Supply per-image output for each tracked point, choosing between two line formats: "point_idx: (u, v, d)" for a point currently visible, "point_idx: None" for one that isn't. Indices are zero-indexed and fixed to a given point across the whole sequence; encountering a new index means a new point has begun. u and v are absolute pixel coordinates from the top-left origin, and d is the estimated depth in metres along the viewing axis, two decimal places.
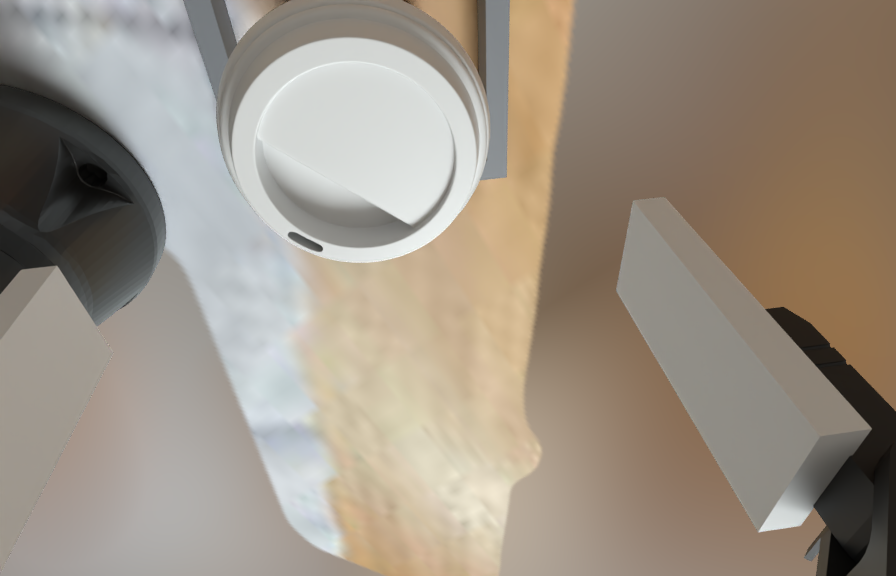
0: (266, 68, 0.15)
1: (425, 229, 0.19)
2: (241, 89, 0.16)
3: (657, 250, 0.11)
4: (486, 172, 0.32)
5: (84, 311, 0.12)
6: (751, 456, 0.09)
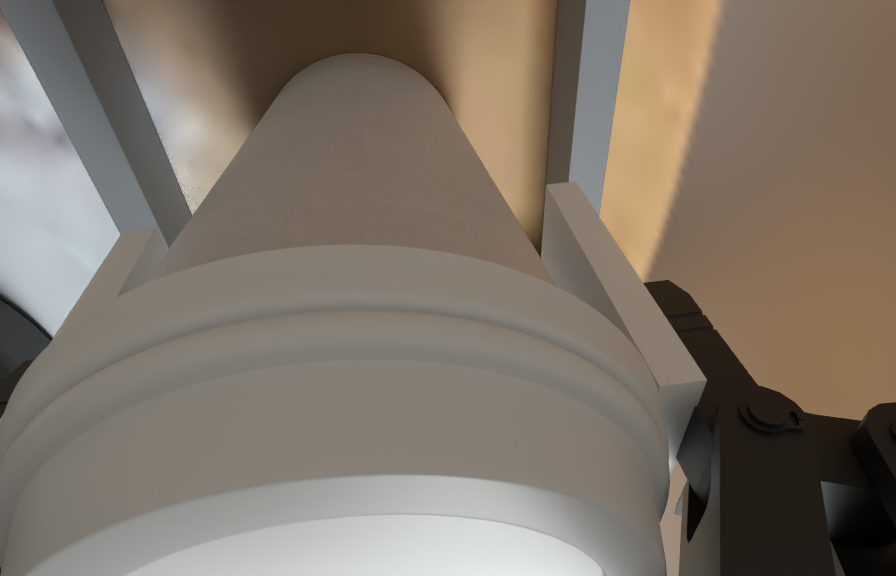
0: (53, 557, 0.05)
1: None
2: (8, 551, 0.05)
3: (562, 229, 0.12)
4: None
5: None
6: None
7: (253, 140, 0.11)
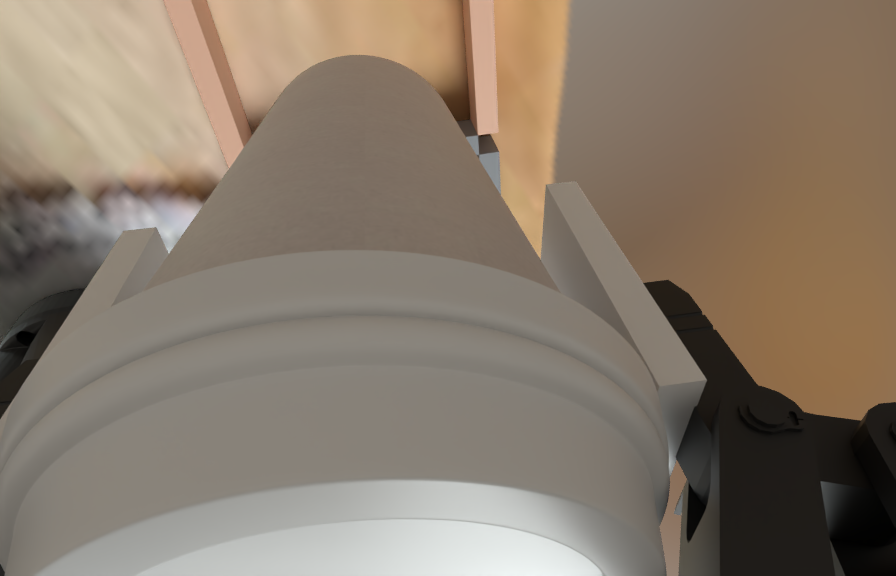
0: (57, 561, 0.05)
1: None
2: (12, 554, 0.05)
3: (561, 229, 0.12)
4: None
5: None
6: None
7: (254, 143, 0.11)
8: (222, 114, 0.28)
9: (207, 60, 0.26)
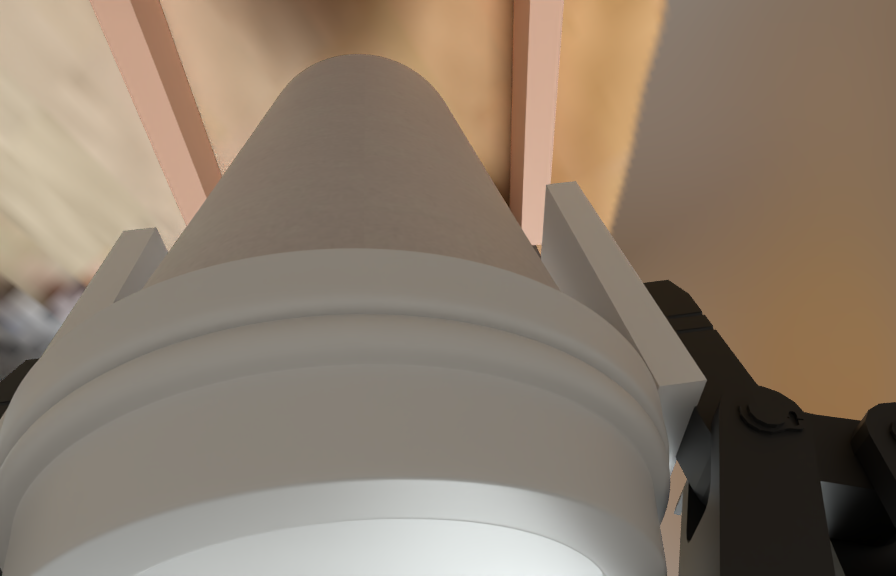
0: (54, 561, 0.05)
1: None
2: (9, 554, 0.05)
3: (561, 229, 0.12)
4: None
5: None
6: None
7: (253, 142, 0.11)
8: None
9: (185, 159, 0.20)
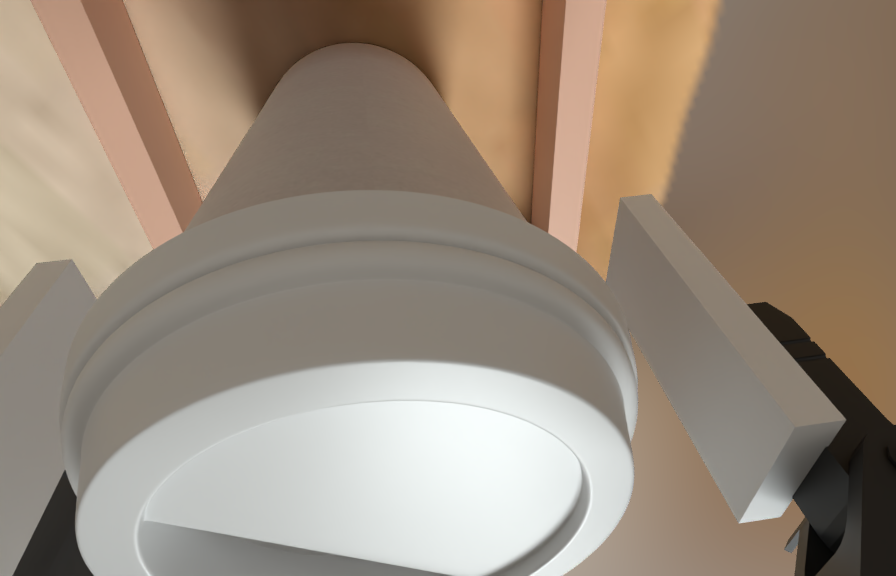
0: (139, 435, 0.06)
1: None
2: (90, 446, 0.06)
3: (643, 246, 0.11)
4: None
5: None
6: (731, 448, 0.09)
7: (263, 121, 0.12)
8: None
9: (162, 202, 0.18)
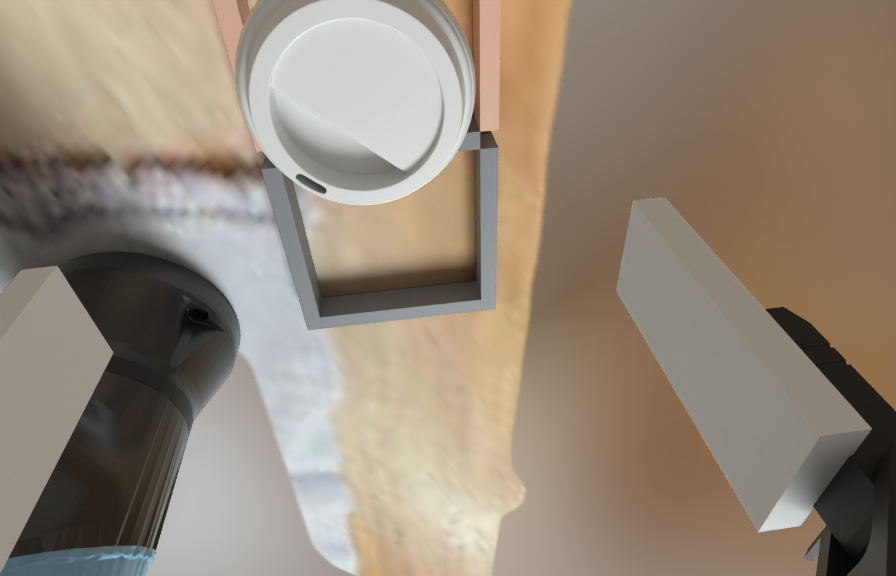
0: (280, 23, 0.18)
1: (417, 175, 0.22)
2: (258, 42, 0.18)
3: (657, 250, 0.11)
4: (480, 306, 0.44)
5: (85, 311, 0.12)
6: (751, 456, 0.09)
7: None
8: None
9: None
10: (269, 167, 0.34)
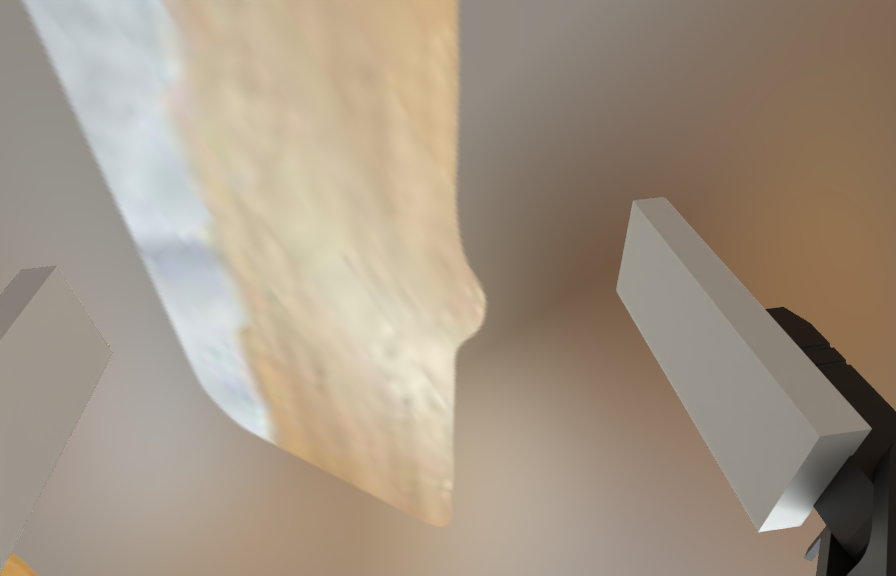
0: None
1: None
2: None
3: (657, 250, 0.11)
4: None
5: (84, 311, 0.12)
6: (751, 456, 0.09)
7: None
8: None
9: None
10: None
